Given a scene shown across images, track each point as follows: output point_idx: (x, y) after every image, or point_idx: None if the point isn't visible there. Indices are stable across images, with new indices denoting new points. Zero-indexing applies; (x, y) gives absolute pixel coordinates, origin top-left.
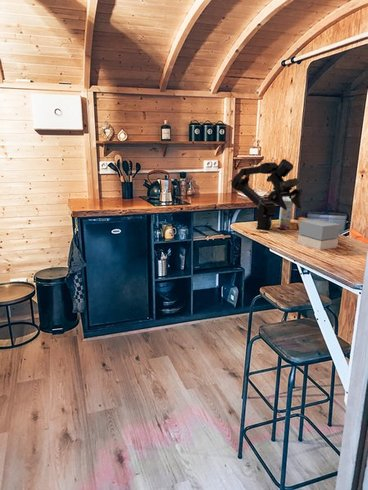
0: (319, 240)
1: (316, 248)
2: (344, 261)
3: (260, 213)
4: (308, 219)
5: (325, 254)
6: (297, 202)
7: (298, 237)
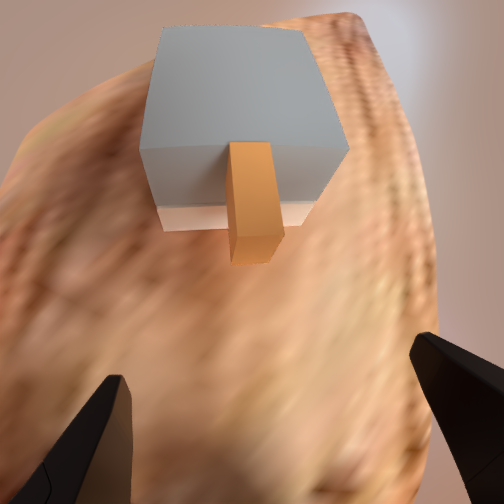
0: None
1: None
2: None
3: None
4: (249, 143)
5: None
6: (102, 478)
7: (308, 208)
